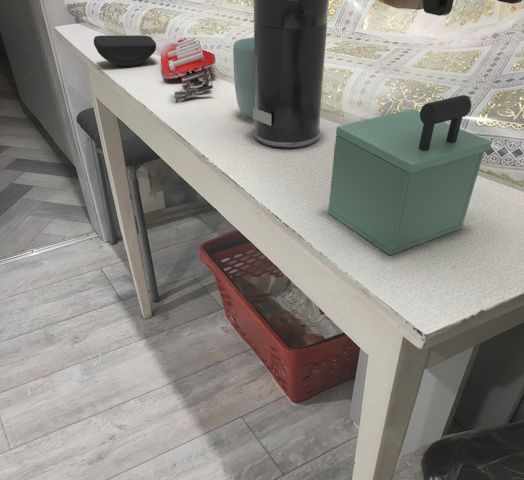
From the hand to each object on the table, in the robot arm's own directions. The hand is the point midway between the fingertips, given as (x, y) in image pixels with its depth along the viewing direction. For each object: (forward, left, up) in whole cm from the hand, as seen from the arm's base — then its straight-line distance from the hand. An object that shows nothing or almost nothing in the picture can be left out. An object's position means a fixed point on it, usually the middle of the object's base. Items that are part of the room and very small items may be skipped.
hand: (473, 7), depth 41 cm
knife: (-54, -34, -20) cm, 67 cm away
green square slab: (-3, -2, -12) cm, 12 cm away
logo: (-55, -28, -16) cm, 63 cm away
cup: (-35, -18, -20) cm, 45 cm away
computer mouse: (-63, -46, -16) cm, 80 cm away
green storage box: (-3, -2, -20) cm, 21 cm away
